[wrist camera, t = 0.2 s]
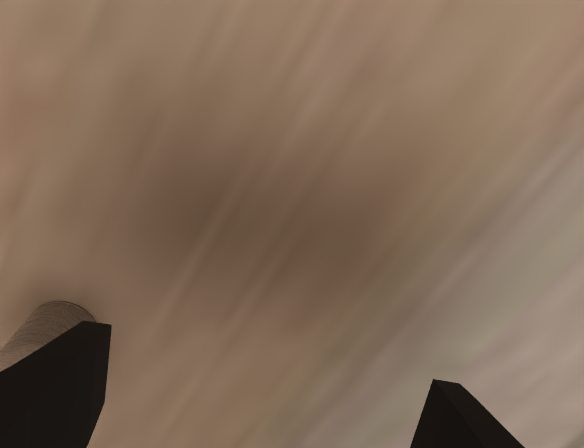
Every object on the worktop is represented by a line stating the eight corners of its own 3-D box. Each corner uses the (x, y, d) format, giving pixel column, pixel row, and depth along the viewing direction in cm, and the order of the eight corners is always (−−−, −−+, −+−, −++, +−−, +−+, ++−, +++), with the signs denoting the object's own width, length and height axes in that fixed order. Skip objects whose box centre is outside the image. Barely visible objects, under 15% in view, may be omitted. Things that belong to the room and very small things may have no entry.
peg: (97, 368, 24) (-9, 559, 16) (27, 357, 24) (-119, 544, 15) (102, 307, 23) (-9, 476, 15) (28, 296, 23) (-127, 460, 14)
